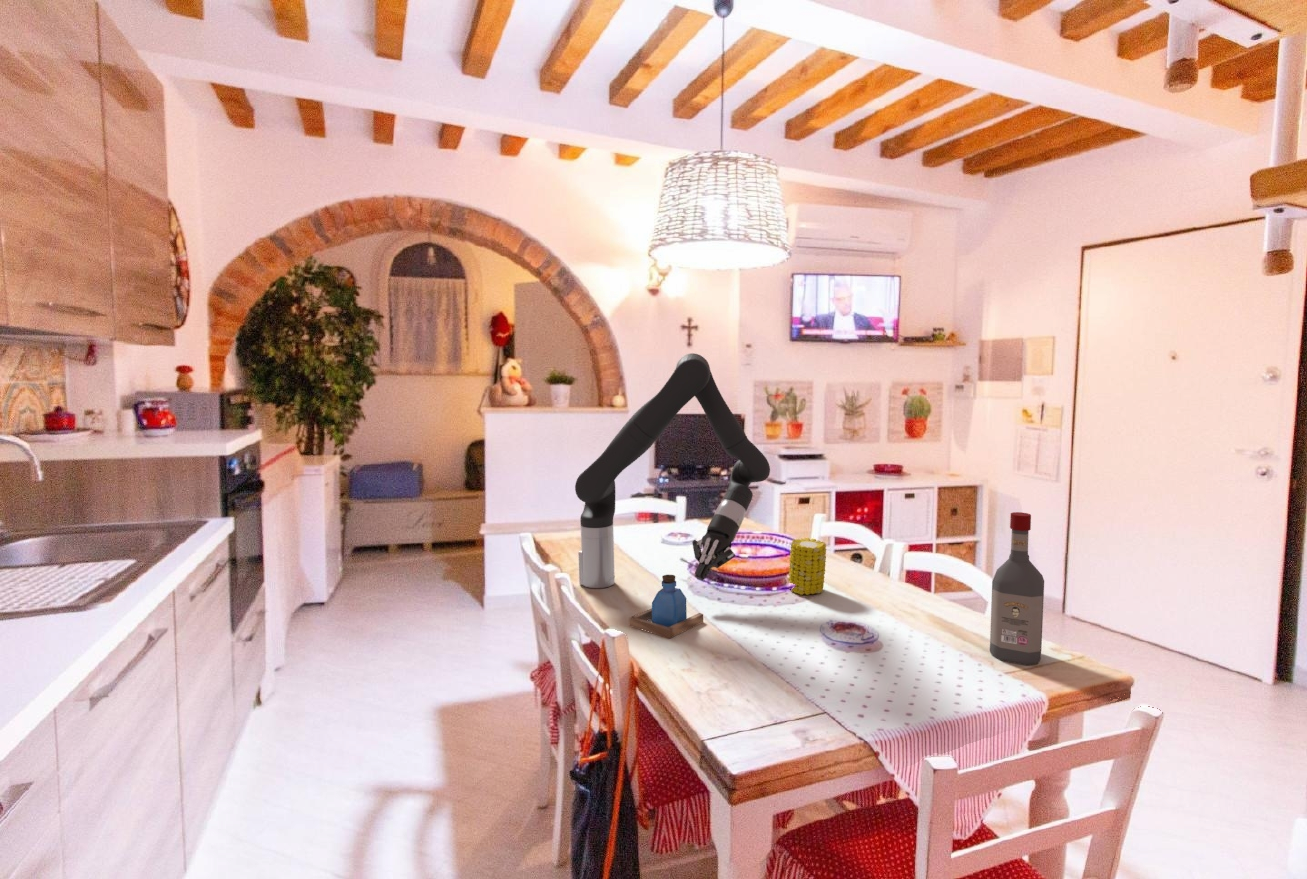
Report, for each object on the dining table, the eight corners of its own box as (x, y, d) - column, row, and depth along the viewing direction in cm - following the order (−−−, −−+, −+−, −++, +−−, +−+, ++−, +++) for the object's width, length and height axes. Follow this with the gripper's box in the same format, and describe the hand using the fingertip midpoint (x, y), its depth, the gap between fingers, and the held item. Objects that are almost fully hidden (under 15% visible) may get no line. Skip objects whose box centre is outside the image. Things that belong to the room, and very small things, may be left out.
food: (811, 589, 191) (828, 602, 181) (773, 584, 188) (789, 597, 178) (824, 537, 189) (842, 548, 180) (786, 531, 186) (802, 541, 177)
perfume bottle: (676, 632, 158) (675, 582, 157) (652, 628, 160) (651, 578, 159) (686, 623, 163) (685, 574, 162) (663, 619, 166) (662, 571, 165)
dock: (663, 610, 172) (663, 603, 171) (703, 622, 164) (703, 614, 163) (629, 626, 162) (629, 617, 162) (669, 638, 154) (669, 630, 154)
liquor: (1039, 668, 136) (1045, 520, 132) (988, 659, 140) (993, 516, 137) (1041, 652, 143) (1047, 512, 140) (993, 643, 148) (998, 507, 145)
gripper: (700, 508, 181) (672, 565, 175) (742, 518, 173) (714, 578, 166) (712, 523, 186) (684, 578, 180) (753, 532, 178) (726, 591, 171)
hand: (699, 578), depth 173 cm, fingers closed
